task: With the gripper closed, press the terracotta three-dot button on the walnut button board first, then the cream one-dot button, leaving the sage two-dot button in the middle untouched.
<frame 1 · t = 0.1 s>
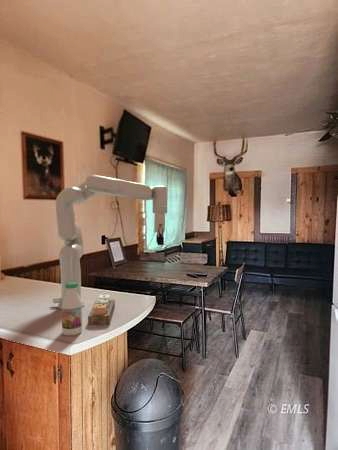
hand: (160, 243, 160), 31 cm above the counter, tool pointing down, fingers open, 9 cm apart
button three: (100, 311, 137), point 5 cm above the counter, slide at 0.0 cm
button two: (102, 305, 144), point 5 cm above the counter, slide at 0.0 cm
milk bottle: (72, 332, 125), on the counter
button board: (102, 315, 144), on the counter
button one: (104, 301, 152), point 5 cm above the counter, slide at 0.0 cm
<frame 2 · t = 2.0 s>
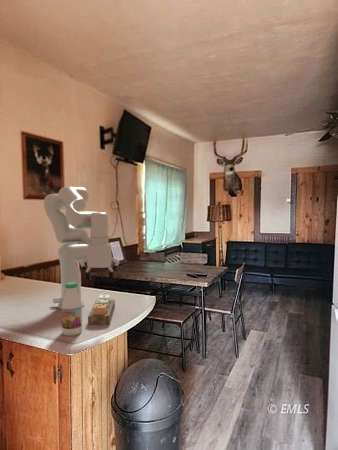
hand: (100, 280, 136), 18 cm above the counter, tool pointing down, fingers open, 8 cm apart
nothing on the counter moved.
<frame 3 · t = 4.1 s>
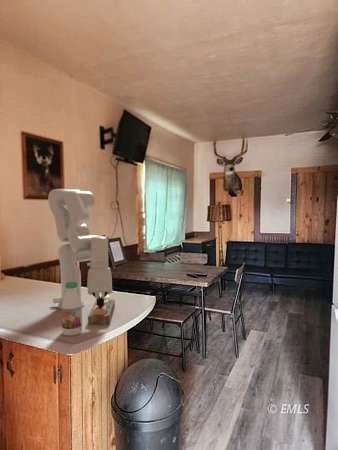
hand: (100, 307, 136), 7 cm above the counter, tool pointing down, fingers closed
button three: (100, 312, 137), point 4 cm above the counter, slide at 0.7 cm, touching gripper
everything else where it was.
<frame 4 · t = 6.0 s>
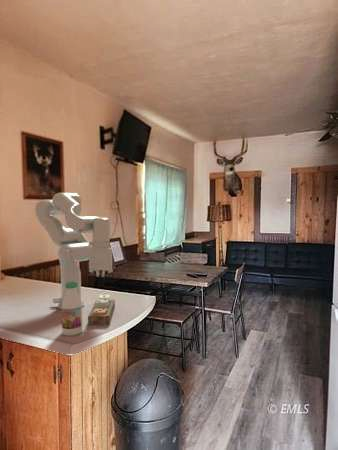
hand: (100, 284, 143), 15 cm above the counter, tool pointing down, fingers closed
button three: (100, 315, 137), point 3 cm above the counter, slide at 2.0 cm
everything else where it was.
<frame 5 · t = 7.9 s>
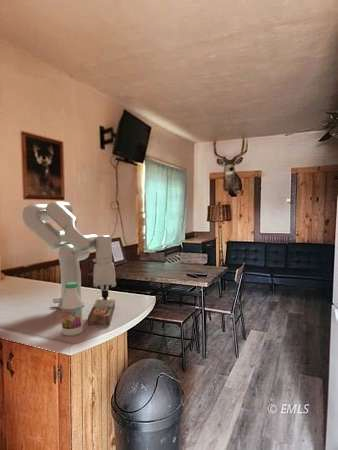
hand: (105, 298, 151), 6 cm above the counter, tool pointing down, fingers closed
button one: (104, 303, 152), point 3 cm above the counter, slide at 1.4 cm, touching gripper
everything else where it was.
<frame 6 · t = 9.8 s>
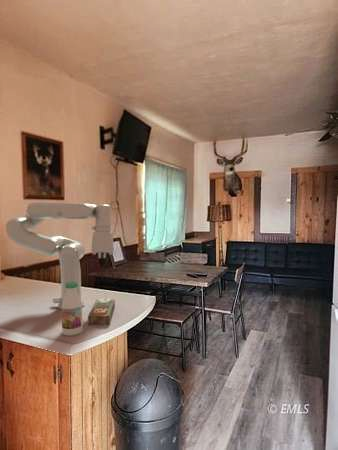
hand: (102, 265, 157), 21 cm above the counter, tool pointing down, fingers closed
button one: (104, 305, 152), point 3 cm above the counter, slide at 2.0 cm
everything else where it was.
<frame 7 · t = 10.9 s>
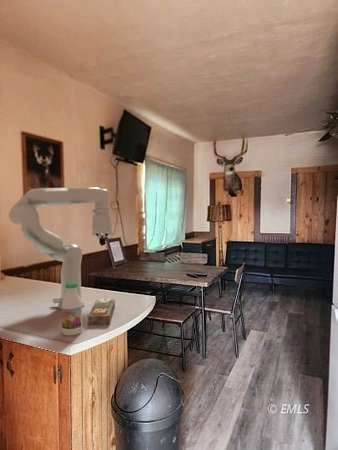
hand: (102, 245, 172), 29 cm above the counter, tool pointing down, fingers closed
nothing on the counter moved.
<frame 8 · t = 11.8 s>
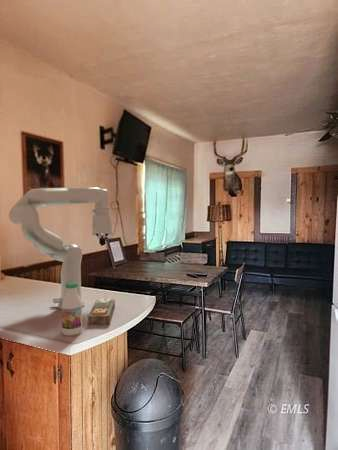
hand: (102, 245, 172), 29 cm above the counter, tool pointing down, fingers closed
nothing on the counter moved.
at the end: button three slide at 2.0 cm; button one slide at 2.0 cm; button two slide at 0.0 cm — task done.
